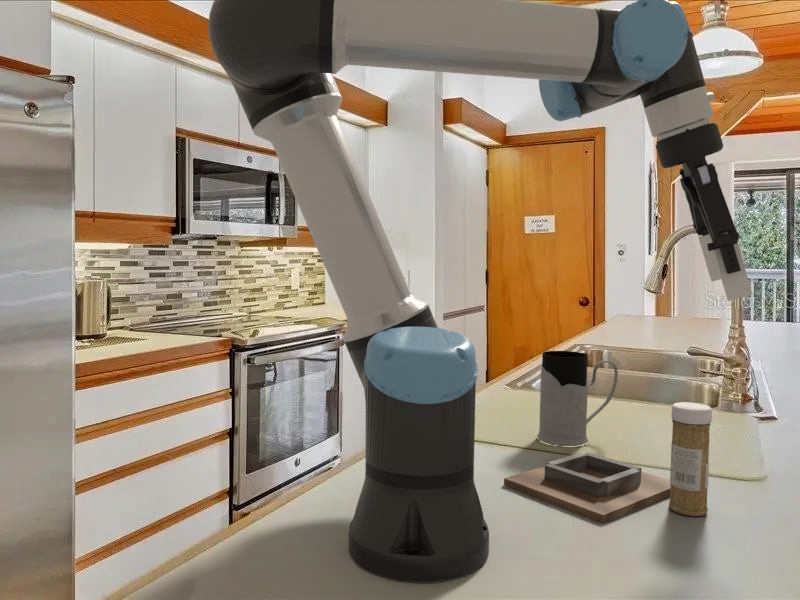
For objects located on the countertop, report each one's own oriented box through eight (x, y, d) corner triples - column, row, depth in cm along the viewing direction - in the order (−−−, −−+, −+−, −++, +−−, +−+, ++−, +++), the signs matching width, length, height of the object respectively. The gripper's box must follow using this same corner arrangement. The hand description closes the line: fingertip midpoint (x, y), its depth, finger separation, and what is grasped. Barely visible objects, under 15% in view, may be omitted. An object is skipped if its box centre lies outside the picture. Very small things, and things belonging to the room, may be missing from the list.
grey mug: (528, 434, 117) (530, 350, 116) (602, 431, 119) (605, 349, 118) (548, 448, 108) (551, 358, 107) (628, 445, 111) (631, 356, 110)
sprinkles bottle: (715, 512, 82) (719, 406, 81) (693, 520, 79) (698, 411, 78) (681, 501, 86) (686, 399, 85) (660, 508, 83) (664, 403, 82)
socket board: (603, 523, 78) (604, 498, 78) (503, 485, 91) (504, 463, 91) (682, 490, 89) (682, 469, 89) (583, 460, 102) (584, 441, 102)
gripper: (733, 112, 71) (785, 297, 73) (702, 124, 94) (742, 264, 96) (661, 137, 73) (714, 315, 75) (648, 143, 97) (688, 279, 99)
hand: (730, 287), depth 86 cm, fingers open, 13 cm apart
